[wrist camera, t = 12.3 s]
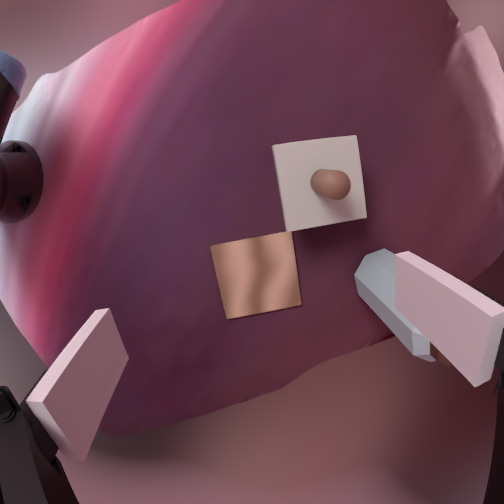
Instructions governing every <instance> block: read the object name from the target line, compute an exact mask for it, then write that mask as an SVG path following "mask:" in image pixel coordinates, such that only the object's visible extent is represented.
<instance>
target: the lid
mask: <svg viewBox="0 0 504 504" xmlns="http://www.w3.org/2000/svg"><path fill="white" fill-rule="evenodd" d="M272 150H273V155H274V161H275V167H276V173H277V179H278V185H279V191H280V197H281V203H282V209H283V215H284V222H285V228H286V231H287V232H290V231H295V230H301V229H306V228H312V227H317V226H323V225H329V224H334V223H340V222H345V221H351V220H357V219H362V218H367V214H366V204H365V195H364V187H363V178H362V171H361V164H360V157H359V150H358V143H357V137H356V135H353V136H343V137H333V138H323V139H315V140H307V141H299V142H291V143H284V144H277V145H272Z"/></svg>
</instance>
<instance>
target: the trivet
mask: <svg viewBox="0 0 504 504" xmlns="http://www.w3.org/2000/svg"><path fill="white" fill-rule="evenodd" d="M210 248H211V252H212V257H213V262H214V266H215V271H216V275H217V279H218V284H219V288H220V293H221V297H222V301H223V305H224V310H225V314H226V318H227V319H230V318H236V317H241V316H247V315H252V314H257V313H263V312H268V311H273V310H278V309H283V308H288V307H293V306H298V305H301V297H300V289H299V282H298V274H297V267H296V260H295V253H294V246H293V239H292V232H291V231H290V232H287V231H286V232H281V233H275V234H270V235H264V236H259V237H254V238H248V239H243V240H238V241H233V242H227V243H222V244H217V245H212V246H210Z"/></svg>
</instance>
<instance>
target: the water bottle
mask: <svg viewBox="0 0 504 504" xmlns="http://www.w3.org/2000/svg"><path fill="white" fill-rule="evenodd" d="M354 277H355V281H356V286H357V291H358V295H359V296H360V297H361V298H362V299H363V300H364V301H365V302H366V303H367V304H368V305H369V307H370V308H371V309H372V310H373V311H374V312H375V313H376V314H377V315H378V316H379V317H380V319H381V320H382V321H383V322H384V323H385V324H386V325H387V326H388V327H389V329H390V330H391V331H392V332H393V333H394V334H395V335H396V336H397V337H398V339H399V340H400V341H401V342H402V343H403V344H404V345H405V347H407V349H408V350H409V351H410V352H411V353H412V355H414V356H416V357H419V358H422V359H424V360H427V361H429V362H433V361H437V362H439V363H441V364H444V365H446V366H449V367H450V366H452V365H453V364H452V363H451V362H450V361H449V360H448V359H447V358H446V357H445V356H444V355H443V354H442V353H441V352H440V351H439V350H438V349H437V348H436V347H435V346H434V345H433V344H432V343H431V342H430V341H429V340H428V339H427V338H426V337H425V336H424V335H423V334H422V333H421V332H420V331H419V330H418V329H417V328H416V327H415V326H414V325H413V324H412V323H410V322H409V321H408V320H407V319H406V318H405V317H404V316H403V315H402V314H401V313H400V312H399V311H398V310H397V309H396V308H395V254H393V253H391V252H390V251H388V250H386V249H385V248H384V249H381V250H379V251H376V252H373V253H371V254H368V255H365V257H364V259H363V260H362V262H361V264H360V266H359V267H358V269H357V271H356V273H355V274H354Z"/></svg>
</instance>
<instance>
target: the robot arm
mask: <svg viewBox="0 0 504 504" xmlns="http://www.w3.org/2000/svg"><path fill="white" fill-rule="evenodd" d="M26 75H27V74H26V69H25V67H24V65H23V64H22V63H20V62H19V61H18V60H16V59H15V58H13V57H12V56H10V55H9V54H7V53H5V52H3V51H1V50H0V222H3V223H14V222H18V221H20V220H23V219H25V218H26V217H28V216H29V215H30V214H31V213H32V212H33V210H34V209H35V207H36V206H37V204H38V201H39V199H40V196H41V192H42V185H43V173H42V166H41V162H40V160H39V157H38V155H37V153H36V152H35V150H34V149H33V148H32V147H31V146H30V145H29V144H27V143H25V142H23V141H6V142H3V143H1V142H2V139H3V136H4V133H5V130H6V127H7V125H8V122H9V119H10V117H11V114H12V111H13V109H14V106H15V104H16V102H17V100H19V97H20V92H21V89H22V87H23V84H24V82H25V80H26ZM395 308H396V309H397V310H398V311H399V312H400V313H401V314H402V315H403V316H404V317H405V318H406V319H407V320H408V321H409V322H410V323H412V324H413V325H414V326H415V327H416V328H417V329H418V330H419V331H420V332H421V333H422V334H423V335H424V336H425V337H426V338H427V339H428V340H429V341H430V342H431V343H432V344H433V345H434V346H435V347H436V348H437V349H438V350H439V351H440V352H441V353H442V354H443V355H444V356H445V357H446V358H447V359H448V360H449V361H450V362H451V363H452V364H453V365H454V366H455V367H456V368H457V369H458V370H459V371H460V372H461V373H462V374H463V375H464V376H465V377H466V378H467V380H468V381H469V382H470V383H472V385H473V386H474V387H477V386H478V385H480V384H482V383H484V382H486V381H488V380H489V379H490V378H491V375H492V371H493V368H494V365H495V366H496V367H497V368H499V369H500V373H499V376H498V379H497V382H496V385H495V388H494V391H493V394H492V395H495V393H496V391H497V390H498V395H497V416H496V428H495V439H494V447H493V455H492V461H491V467H490V473H489V479H488V484H487V488H486V493H485V498H484V502H483V504H504V303H502V302H501V301H499V300H497V299H495V298H494V297H493V296H491V295H488V294H487V293H486V292H484V291H483V290H481V289H479V288H476V287H473V286H469V285H467V284H465V283H464V282H462V281H460V280H459V279H457V278H455V277H453V276H452V275H450V274H448V273H447V272H445V271H443V270H441V269H440V268H438V267H436V266H434V265H433V264H431V263H429V262H427V261H425V260H424V259H422V258H420V257H418V256H416V255H415V254H413V253H411V252H409V251H407V252H402V253H398V254H395ZM128 359H129V357H128V355H127V352H126V350H125V348H124V345H123V343H122V340H121V338H120V335H119V332H118V330H117V327H116V325H115V322H114V319H113V316H112V314H111V311H110V308H107V309H100V310H95V312H94V313H93V314H92V315H91V316H90V318H89V319H88V320H87V321H86V322H85V324H84V325H83V326H82V327H81V328H80V330H79V331H78V332H77V333H76V335H75V336H74V337H73V338H72V340H71V341H70V342H69V343H68V345H67V346H66V347H65V349H64V350H63V351H62V352H61V354H60V355H59V356H58V358H57V359H56V360H55V361H54V363H53V364H52V365H51V367H49V368H48V369H47V370H46V371H45V372H44V373H43V374H42V376H41V377H40V378H39V379H38V380H39V381H37V382H36V383H35V385H34V387H33V388H32V389H31V390H30V392H29V393H28V394H27V396H26V397H25V398H24V400H23V401H22V403H21V404H20V406H19V404H18V403H17V401H16V400H15V398H14V396H13V395H12V393H11V391H10V390H9V388H8V387H6V386H0V504H79V502H78V500H77V498H76V496H75V494H74V492H73V490H72V488H71V485H70V483H69V481H68V479H67V476H66V474H65V472H64V470H63V467H62V465H61V462H60V461H59V459H58V458H57V457H56V456H55V455H56V453H57V451H58V449H60V451H61V452H62V453H63V455H64V456H65V457H66V458H67V459H69V460H76V461H85V459H86V456H87V454H88V451H89V449H90V446H91V444H92V441H93V439H94V436H95V434H96V432H97V429H98V427H99V424H100V422H101V420H102V417H103V415H104V413H105V410H106V408H107V406H108V403H109V401H110V399H111V396H112V394H113V392H114V390H115V387H116V385H117V383H118V381H119V379H120V376H121V374H122V372H123V370H124V368H125V366H126V363H127V361H128Z"/></svg>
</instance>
